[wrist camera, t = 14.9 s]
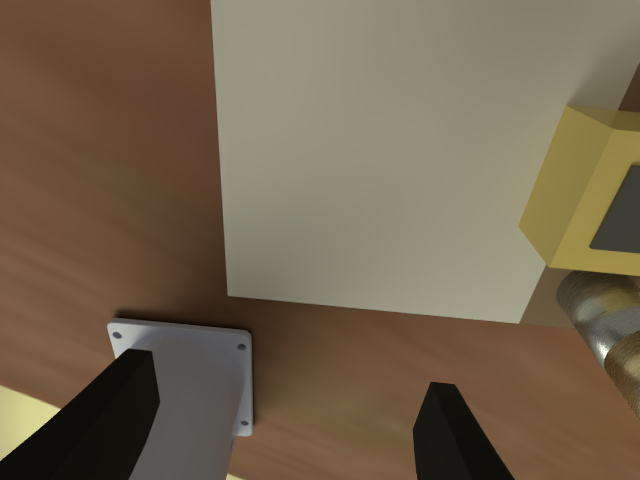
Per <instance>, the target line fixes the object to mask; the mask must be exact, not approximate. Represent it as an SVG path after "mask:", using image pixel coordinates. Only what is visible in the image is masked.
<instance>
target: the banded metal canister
mask: <svg viewBox="0 0 640 480" xmlns="http://www.w3.org/2000/svg"><path fill="white" fill-rule="evenodd" d="M556 299H557V302H558V304H559V306H560V307H561V308H562V310H563V311H564V313H565V314H566V316H567V317H568V318H569V320H570V321H571V323H572V324H573V326H574V327H575V328H576V330H577V331H578V333H579V334H580V335H581V337H582V338H583V340H584V341H585V343H586V344H587V345H588V347H589V348H590V350H591V351H592V353H593V354H594V355H595V357H596V358H597V360H598V361H599V363H600V364H601V365H602V367H603V368H604V370H605V371H606V373H607V374H608V375H609V377H610V378H611V380H612V381H613V383H614V384H615V385H616V387H617V388H618V390H619V391H620V392H621V394H622V395H623V397H624V398H625V400H626V401H627V402H628V404H629V405H630V407H631V408H632V410H633V411H634V412H635V414H636V415H637V417H638V418H639V420H640V287H639V286H638V285H637V284H636V283H635V282H634V281H633V280H632V279H631V278H630V277H629V276H628V275H624V274H614V273H603V272H593V271H582V270H575V271H573V272H572V273H570V274H569V275H568V276H566V277H565V278H564V279H563V281H562V282H561V283H560V285H559V287H558V289H557V293H556Z"/></svg>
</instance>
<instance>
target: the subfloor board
mask: <svg viewBox="0 0 640 480" xmlns="http://www.w3.org/2000/svg"><path fill="white" fill-rule="evenodd" d="M211 15H212V32H213V50H214V67H215V84H216V101H217V119H218V136H219V153H220V170H221V188H222V205H223V222H224V240H225V257H226V274H227V291H228V296H235V297H245V298H256V299H266V300H277V301H287V302H298V303H308V304H319V305H329V306H340V307H350V308H361V309H371V310H382V311H392V312H403V313H413V314H424V315H434V316H445V317H455V318H466V319H476V320H487V321H497V322H508V323H518V324H529V325H539V326H550V327H560V328H571V329H576V328H575V327H574V326H573V324H572V323H571V321H570V320H569V318H568V317H567V316H566V314H565V313H564V311H563V310H562V308H561V307H560V306H559V304H558V302H557V299H556V293H557V289H558V287H559V285H560V283H561V282H562V281H563V279H564V278H565V277H566V276H568V275H569V274H570V273H572V272H573V271H575V270H571V269H561V268H550V267H548V265H547V264H546V263H545V261H544V260H543V259H542V257H541V256H540V255H539V253H538V252H537V251H536V250H535V248H534V247H533V246H532V244H531V243H530V242H529V240H528V239H527V238H526V236H525V235H524V234H523V232H522V231H521V230H520V228H519V227H518V225H519V223H520V220H521V217H522V215H523V212H524V210H525V207H526V205H527V202H528V200H529V197H530V195H531V192H532V189H533V187H534V184H535V182H536V179H537V177H538V174H539V172H540V169H541V167H542V164H543V161H544V159H545V156H546V154H547V151H548V149H549V146H550V144H551V141H552V139H553V136H554V133H555V131H556V128H557V126H558V123H559V121H560V118H561V116H562V113H563V110H564V108H565V106H576V107H587V108H597V109H608V110H619V111H630V112H640V0H211ZM628 276H629V277H630V278H631V279H632V280H633V281H634V282H635V283H636V284H637V285H638V286H639V287H640V276H635V275H628Z"/></svg>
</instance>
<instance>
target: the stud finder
mask: <svg viewBox="0 0 640 480" xmlns="http://www.w3.org/2000/svg"><path fill="white" fill-rule="evenodd" d="M518 227H519V228H520V230H521V231H522V232H523V234H524V235H525V236H526V238H527V239H528V240H529V242H530V243H531V244H532V246H533V247H534V248H535V250H536V251H537V252H538V253H539V255H540V256H541V257H542V259H543V260H544V261H545V263H546V264H547V265H548V267H550V268H561V269H571V270H582V271H593V272H603V273H614V274H624V275H635V276H640V112H630V111H619V110H608V109H597V108H587V107H576V106H565V108H564V110H563V113H562V116H561V118H560V121H559V123H558V126H557V128H556V131H555V133H554V136H553V139H552V141H551V144H550V146H549V149H548V151H547V154H546V156H545V159H544V161H543V164H542V167H541V169H540V172H539V174H538V177H537V179H536V182H535V184H534V187H533V189H532V192H531V195H530V197H529V200H528V202H527V205H526V207H525V210H524V212H523V215H522V217H521V220H520V223H519V225H518Z"/></svg>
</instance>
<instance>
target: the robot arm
mask: <svg viewBox="0 0 640 480" xmlns="http://www.w3.org/2000/svg"><path fill="white" fill-rule="evenodd" d="M107 329H108V333H109V336H110V340H111V344H112V347H113V351H114V354H115V358H116V359H115V360H114V361H113V362H112V363H111V364H110V365H109V366H108V367H107V368H106V369H105V370H104V371H103V372H102V373H101V374H99V375H98V376H97V377H96V378H95V379H94V380H93V381H92V382H91V383H90V384H89V385H88V386H87V387H86V388H84V389H83V390H82V391H81V392H80V393H79V394H78V395H77V396H76V397H75V398H74V399H72V400H71V401H70V402H69V403H68V404H67V405H66V406H65V407H63V408H62V409H61V410H60V411H59V412H58V413H57V414H56V415H54V416H53V417H52V418H51V419H50V420H49V421H48V422H47V423H45V424H44V425H43V426H42V427H41V428H40V429H39V430H38V431H36V432H35V433H34V434H32V435H31V436H30V437H29V438H28V439H26V440H25V441H24V442H23V443H22V444H20V445H19V446H18V447H17V448H16V449H14V450H13V451H12V452H11V453H10V454H8V455H7V456H6V457H5V458H3V459H2V460H1V461H0V480H226V476H227V472H228V468H229V464H230V460H231V456H232V452H233V448H234V444H235V440H236V436H250V435H251V434H252V432H253V382H252V337H251V334H250V333H249V332H247V331H245V330H238V329H228V328H217V327H207V326H196V325H186V324H175V323H165V322H155V321H144V320H134V319H123V318H113V319H111V320H110V321H109V323H108V324H107ZM241 344H243V345H241ZM413 439H414V453H415V463H416V473H417V479H418V480H515V479H514V478H513V476H512V475H511V473H510V472H509V470H508V469H507V467H506V466H505V464H504V463H503V461H502V460H501V458H500V457H499V455H498V454H497V452H496V450H495V449H494V447H493V446H492V444H491V443H490V441H489V440H488V438H487V436H486V435H485V433H484V432H483V430H482V428H481V427H480V425H479V424H478V422H477V420H476V419H475V417H474V415H473V414H472V412H471V410H470V409H469V407H468V405H467V404H466V402H465V400H464V399H463V397H462V395H461V394H460V392H459V390H458V389H457V387H456V386H455V385H454V384H447V383H438V382H430V385H429V388H428V390H427V393H426V396H425V398H424V401H423V404H422V406H421V409H420V412H419V414H418V417H417V420H416V422H415V425H414V428H413Z"/></svg>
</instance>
